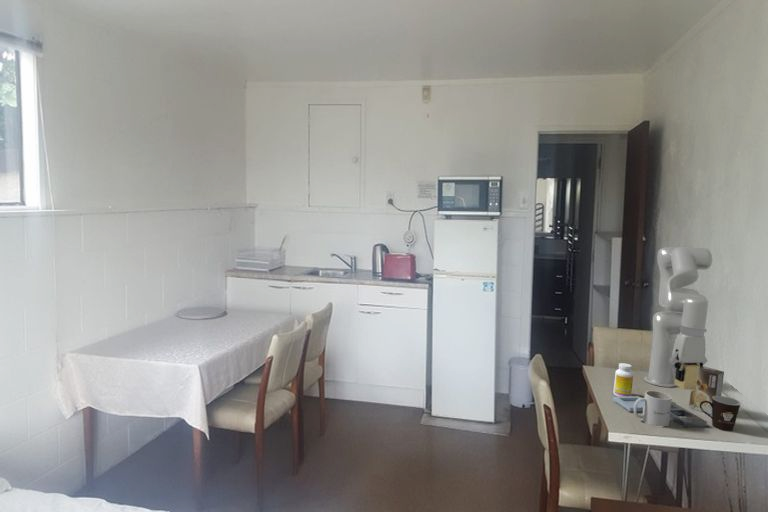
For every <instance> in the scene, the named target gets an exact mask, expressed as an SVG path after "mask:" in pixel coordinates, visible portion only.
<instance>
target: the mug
mask: <svg viewBox="0 0 768 512" xmlns="http://www.w3.org/2000/svg"><path fill="white" fill-rule="evenodd" d="M672 397H673V396H671V395H670V394H668V393H665V392H662V391H659V390H647V391H644V397H641V398H639V399H637V400H636V402H635V404H634V412H633V414H634V416H635V417H637V418H638V419H641V420H642V421H643V423H645V424H648V425H650V426H654V427H657V426H663V427H662V428H665V427H664V426H667V427H669V424H670V419H669V417H670V409H671V401H672V400H673V398H672ZM640 401H644V406H643V412H642V414H638V412H637V405H638V403H639V402H640ZM672 402H673V401H672Z"/></svg>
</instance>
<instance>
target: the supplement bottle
mask: <svg viewBox="0 0 768 512" xmlns="http://www.w3.org/2000/svg"><path fill="white" fill-rule="evenodd" d="M614 373H615V374H614V382H613V391H612V393H613V395H614V397H617V396H632V389H633V381H634V373H633V372H632V365H631V364H629V363H625V362H624V363H623V362H620V363H618V369H616V370H615V372H614Z"/></svg>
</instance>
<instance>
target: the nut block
mask: <svg viewBox="0 0 768 512" xmlns="http://www.w3.org/2000/svg"><path fill="white" fill-rule="evenodd" d="M676 362H677V360H676ZM680 365H681V363H680ZM699 367H700V365H698V364H695V363H685V364H684V368H683V371H684V374H683V381H679V380H677V379H675V382H674V384H675V385H676V387H678V388H680V389H682V390H691V389H696V386H697V379H698V371H699ZM675 375H676V373H675Z"/></svg>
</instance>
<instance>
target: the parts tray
mask: <svg viewBox="0 0 768 512" xmlns="http://www.w3.org/2000/svg"><path fill="white" fill-rule="evenodd" d="M639 398H642V397H640V396H639V395H637V396H632V395H631V396H612V402H614V403H615V404H617V405H618V406H620V407H621V408H622V407H623V409H624V410H625V409H626V410H625V411H629V412H628V413H634V404H635V402H636V400H637V399H639ZM643 406H644V401H640V402H639V403H638V405H637V413H643Z"/></svg>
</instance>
